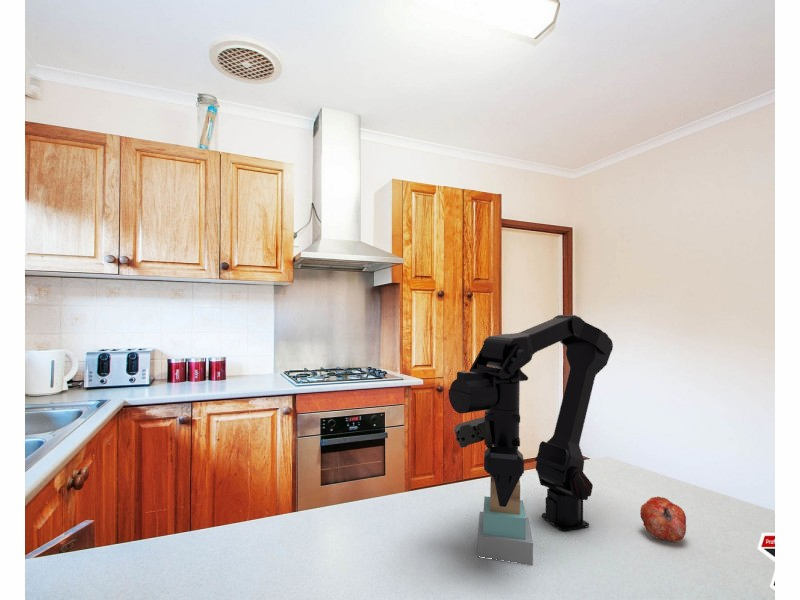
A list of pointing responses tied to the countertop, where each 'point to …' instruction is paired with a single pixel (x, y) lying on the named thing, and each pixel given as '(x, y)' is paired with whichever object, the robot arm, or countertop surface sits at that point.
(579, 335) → the robot arm
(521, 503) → the teal block
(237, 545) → the countertop surface
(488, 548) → the slate block
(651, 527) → the pomegranate
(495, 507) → the walnut cube
